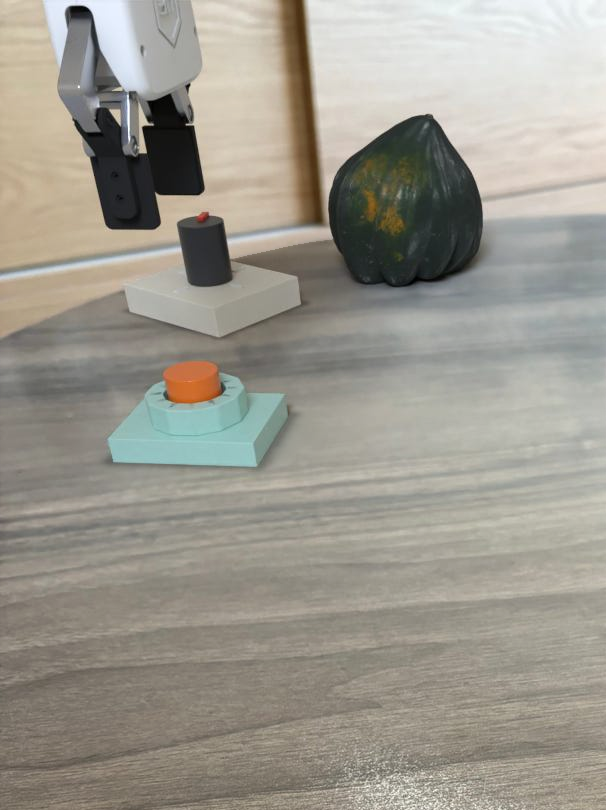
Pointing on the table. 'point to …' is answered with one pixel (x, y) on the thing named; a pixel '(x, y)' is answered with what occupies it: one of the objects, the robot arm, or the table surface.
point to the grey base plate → (213, 298)
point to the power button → (192, 382)
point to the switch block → (200, 428)
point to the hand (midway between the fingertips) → (158, 208)
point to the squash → (406, 206)
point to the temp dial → (205, 250)
